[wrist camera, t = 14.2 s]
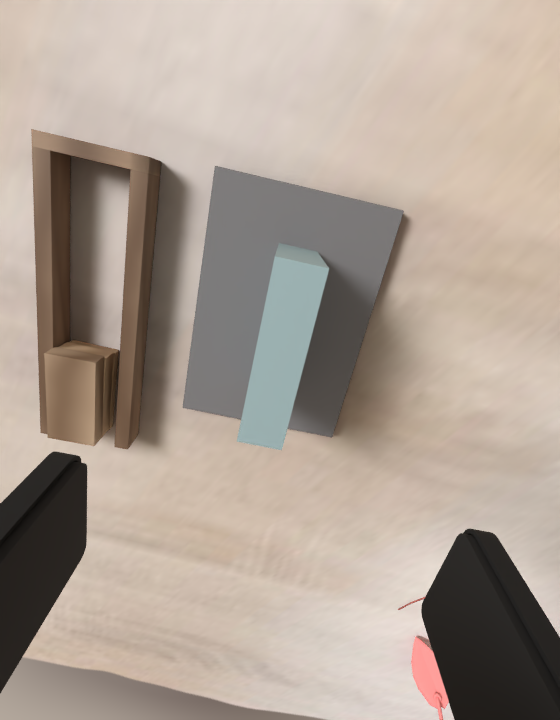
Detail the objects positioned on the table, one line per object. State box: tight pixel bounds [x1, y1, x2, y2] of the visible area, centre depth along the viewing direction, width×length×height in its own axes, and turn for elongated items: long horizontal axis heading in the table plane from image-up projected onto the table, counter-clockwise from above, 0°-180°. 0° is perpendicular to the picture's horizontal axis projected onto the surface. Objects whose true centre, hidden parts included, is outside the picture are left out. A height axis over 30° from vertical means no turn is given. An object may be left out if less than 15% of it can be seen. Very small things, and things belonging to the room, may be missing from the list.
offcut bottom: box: [70, 340, 119, 430], centre depth 34 cm, size 4×8×2 cm, turn 167°
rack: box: [32, 129, 161, 449], centre depth 30 cm, size 8×24×2 cm, turn 168°
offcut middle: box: [59, 342, 114, 438], centre depth 33 cm, size 4×8×2 cm, turn 167°
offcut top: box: [44, 347, 104, 446], centre depth 31 cm, size 4×8×2 cm, turn 169°
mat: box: [183, 166, 404, 437], centre depth 31 cm, size 14×20×1 cm
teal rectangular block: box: [237, 243, 329, 450], centre depth 26 cm, size 3×12×9 cm, turn 168°
